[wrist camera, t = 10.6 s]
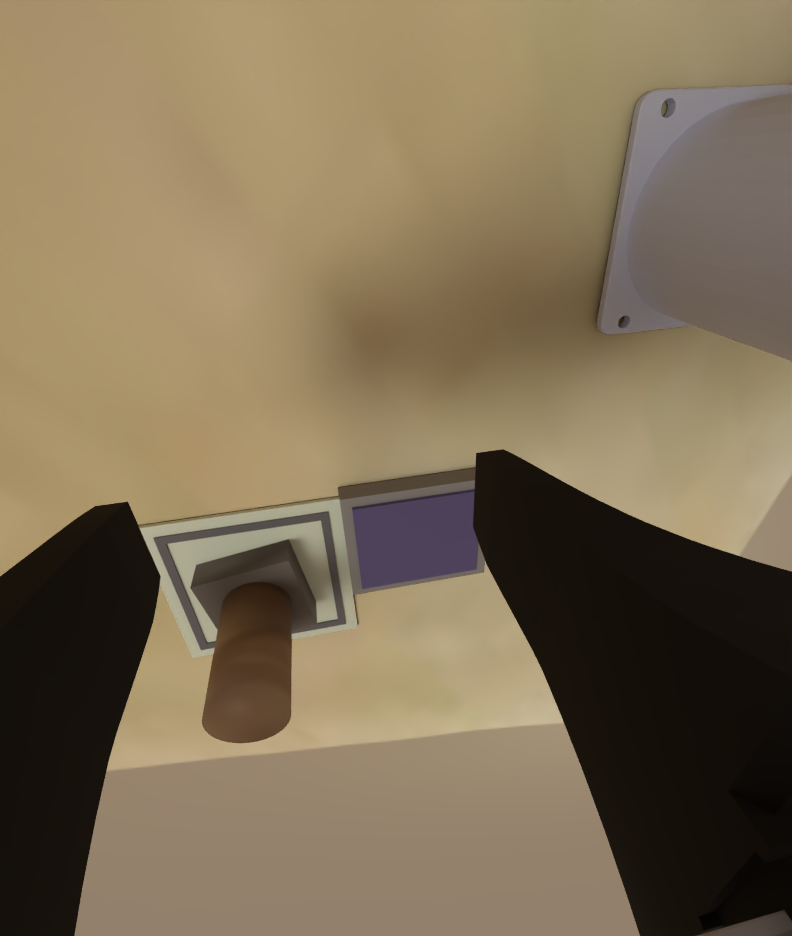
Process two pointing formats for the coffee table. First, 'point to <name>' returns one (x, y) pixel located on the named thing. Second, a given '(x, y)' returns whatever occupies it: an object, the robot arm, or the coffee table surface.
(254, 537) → the sheet
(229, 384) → the coffee table surface
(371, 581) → the ink pad
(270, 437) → the coffee table surface
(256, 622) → the stamp
